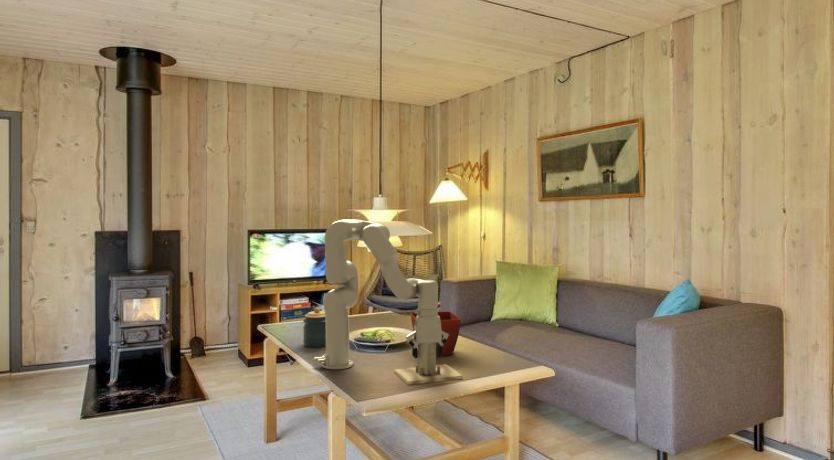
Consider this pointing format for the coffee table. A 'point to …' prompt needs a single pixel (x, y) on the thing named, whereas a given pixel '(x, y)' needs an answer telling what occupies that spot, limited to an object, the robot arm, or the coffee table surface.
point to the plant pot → (446, 330)
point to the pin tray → (439, 375)
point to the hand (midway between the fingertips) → (427, 356)
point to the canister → (315, 329)
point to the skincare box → (427, 357)
